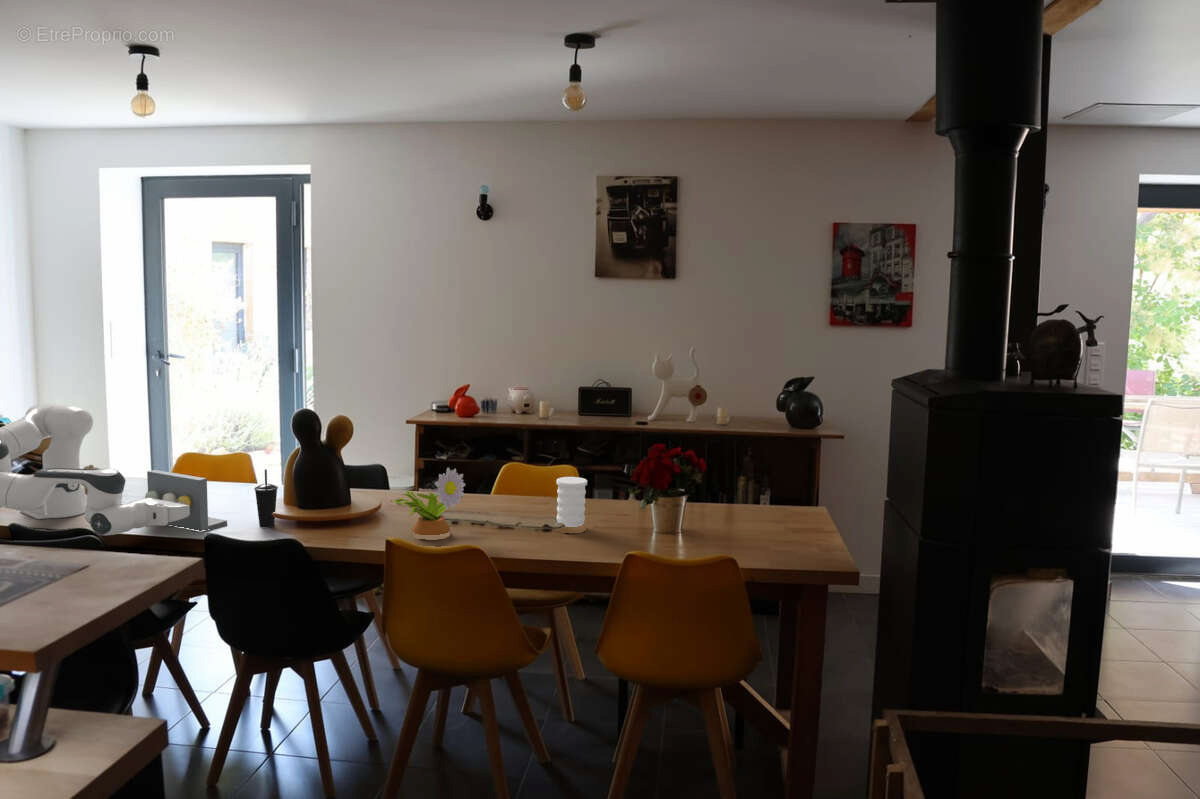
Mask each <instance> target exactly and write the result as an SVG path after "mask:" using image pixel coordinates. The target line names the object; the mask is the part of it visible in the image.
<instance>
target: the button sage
mask: <svg viewBox="0 0 1200 799" xmlns="http://www.w3.org/2000/svg"><path fill="white" fill-rule="evenodd" d="M144 497H145V498H153V499H158V500H159V494H158V493H157V492H156V491H151V492H148V491H147V492H146V493H145V496H144Z"/></svg>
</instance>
